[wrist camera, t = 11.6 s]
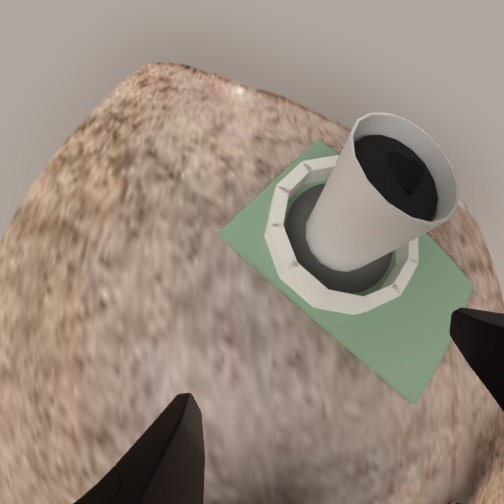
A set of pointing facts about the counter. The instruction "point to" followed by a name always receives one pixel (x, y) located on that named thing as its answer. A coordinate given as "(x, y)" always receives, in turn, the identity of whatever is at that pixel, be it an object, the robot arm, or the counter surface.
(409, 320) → the practice green
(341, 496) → the counter surface
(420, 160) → the white coffee cup
